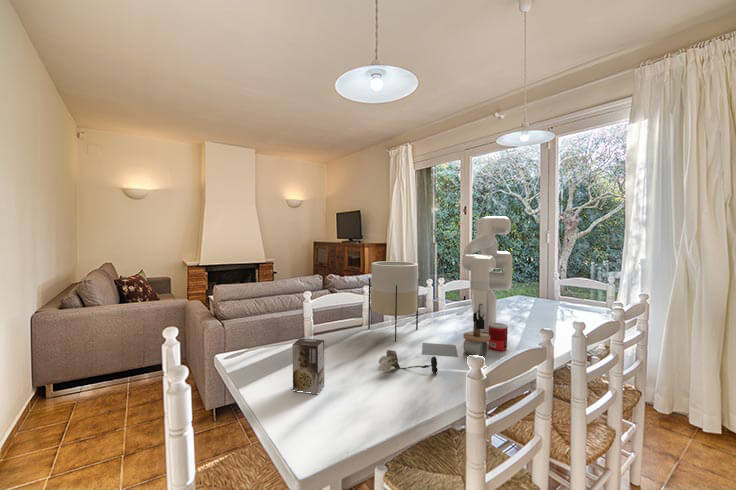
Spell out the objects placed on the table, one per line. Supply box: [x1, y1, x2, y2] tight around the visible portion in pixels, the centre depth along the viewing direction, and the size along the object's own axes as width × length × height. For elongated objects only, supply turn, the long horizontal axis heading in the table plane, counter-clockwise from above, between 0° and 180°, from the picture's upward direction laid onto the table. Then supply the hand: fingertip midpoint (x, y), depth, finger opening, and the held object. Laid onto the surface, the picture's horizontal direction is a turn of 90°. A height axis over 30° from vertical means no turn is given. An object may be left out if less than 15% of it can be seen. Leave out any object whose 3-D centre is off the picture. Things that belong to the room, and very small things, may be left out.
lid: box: [462, 322, 490, 343], centre depth 146 cm, size 11×11×6 cm
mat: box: [421, 342, 459, 358], centre depth 152 cm, size 15×15×1 cm
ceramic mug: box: [462, 339, 489, 359], centre depth 145 cm, size 11×8×8 cm
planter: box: [367, 260, 420, 343], centre depth 175 cm, size 26×27×36 cm
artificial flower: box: [377, 349, 439, 376], centre depth 130 cm, size 9×22×10 cm, turn 74°
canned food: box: [487, 322, 509, 353], centre depth 155 cm, size 8×8×11 cm
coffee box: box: [291, 337, 325, 394], centre depth 114 cm, size 9×6×16 cm
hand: (478, 325), depth 147 cm, fingers open, 9 cm apart
